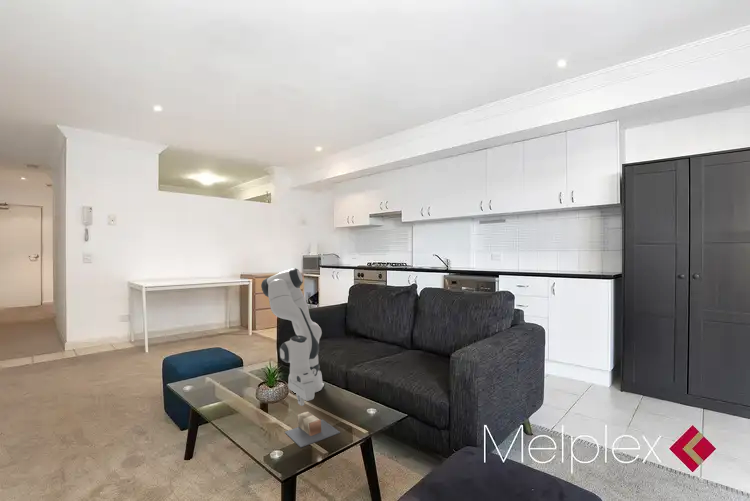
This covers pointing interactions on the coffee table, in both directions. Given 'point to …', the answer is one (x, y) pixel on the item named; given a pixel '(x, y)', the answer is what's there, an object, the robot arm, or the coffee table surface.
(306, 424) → the birch block
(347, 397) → the coffee table surface
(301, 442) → the rubber mat
